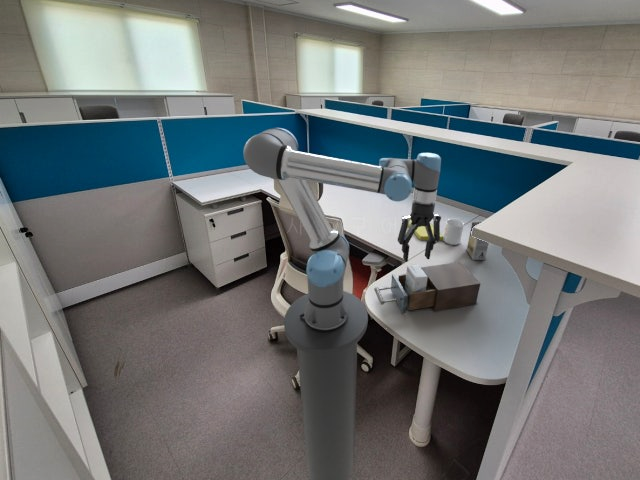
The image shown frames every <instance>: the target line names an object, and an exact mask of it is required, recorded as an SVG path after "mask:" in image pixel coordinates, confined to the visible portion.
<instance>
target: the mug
mask: <svg viewBox="0 0 640 480" xmlns="http://www.w3.org/2000/svg"><path fill="white" fill-rule="evenodd" d="M464 225H465V224H464V222H463V221H462V220H459V219H454V218H449V219H447V220H446V221H445V227H444V232H443V241H444V242H445V244H447V245H451V246H457V245H459V244H460V243H461V241H462V236H463V231H464Z"/></svg>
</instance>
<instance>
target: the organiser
mask: <svg viewBox="0 0 640 480" xmlns="http://www.w3.org/2000/svg"><path fill="white" fill-rule="evenodd" d="M420 267H421V269H422V270H423V271H424V273H425V274H426V275H427V276H428V279H429V281H430V282H431V283H432V285H433V286H434V287H435V289H436V290H437V292H436V298H435V304H434V306H431V308H432V309H433V311H434V312H437V311H442V310H448V309H455V308H458V307H459V308H460V307H464V306H471V305H476V304H477V300H478V297H479V292H480V287H481V282H480V281H479V280H478V279H477V278H476V277H475V276H474V274H472V273H471V271H469V270H468V269H467V267H465V265H464V264H463V263H462V262H461V261H459V262H450V263H442V264H435V265H428V266H420Z"/></svg>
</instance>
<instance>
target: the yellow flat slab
mask: <svg viewBox="0 0 640 480" xmlns="http://www.w3.org/2000/svg"><path fill="white" fill-rule="evenodd" d="M411 222H412V220H410V221H409V223H408V227H410V224H411ZM430 225H431V230H432V233H433V236H434V224H432V223H431V222H430ZM414 235H415V236H416V237H417V239H418V240H419V241H427V240H429V238H428V234H427V231H426V228H425V227H424V226H421V227H418V228H417V230H415V232H414ZM439 241H444V235H443V234H442V233H440V240H439Z"/></svg>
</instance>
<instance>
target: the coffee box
mask: <svg viewBox="0 0 640 480" xmlns="http://www.w3.org/2000/svg"><path fill="white" fill-rule="evenodd" d="M481 222H482V221H472V222H471V227H470V232H469V237H468V241H467V246H466V251H467V254H469V256H470V258H471V260H472V261H482V260H483V261H484V260H486V256H487V252H488V248H489V243H490V242H489V243H487V242H485V241H482V240H479V239H477V238H474V237H472V235H471V231H472V228H473V227H474V226H475V225H477V224H479V223H481Z"/></svg>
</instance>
